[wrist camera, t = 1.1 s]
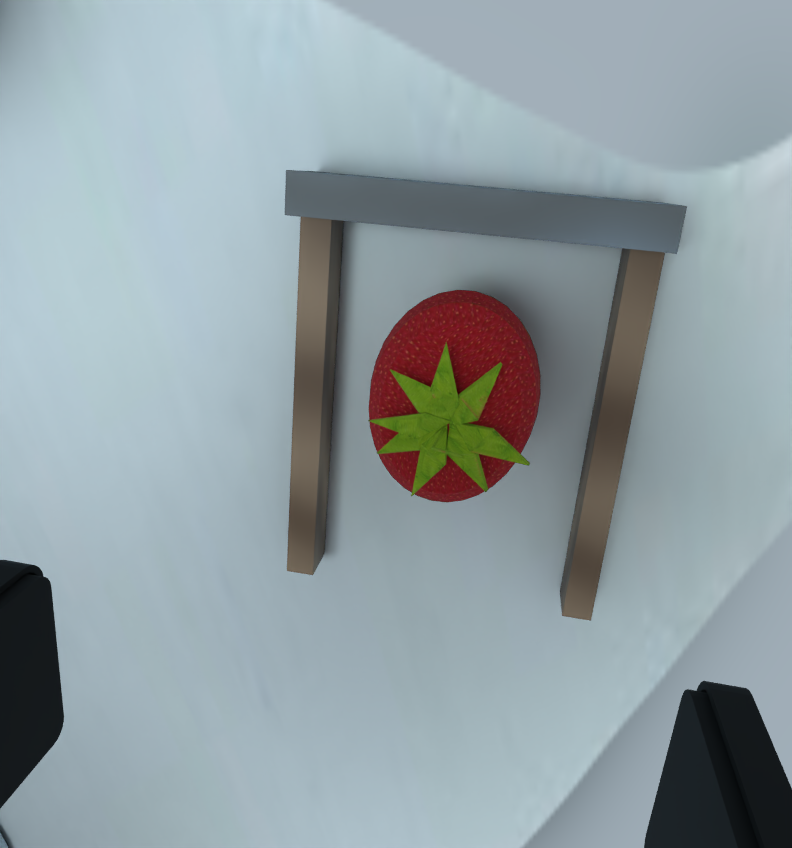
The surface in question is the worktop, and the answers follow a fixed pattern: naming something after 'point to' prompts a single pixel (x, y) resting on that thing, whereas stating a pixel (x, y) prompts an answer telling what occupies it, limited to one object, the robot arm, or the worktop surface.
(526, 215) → the frame
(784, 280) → the worktop surface
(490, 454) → the strawberry
